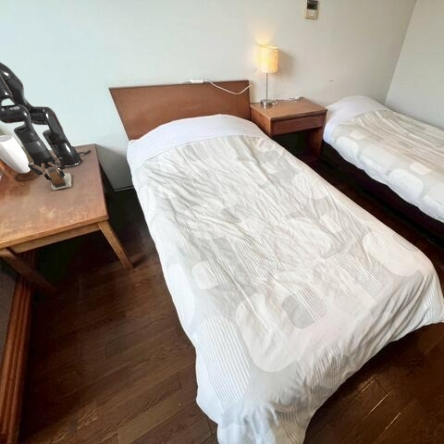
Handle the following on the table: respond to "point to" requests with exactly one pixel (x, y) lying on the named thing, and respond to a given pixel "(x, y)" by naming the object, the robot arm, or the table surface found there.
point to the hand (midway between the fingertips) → (56, 178)
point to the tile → (67, 180)
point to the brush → (56, 178)
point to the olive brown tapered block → (27, 154)
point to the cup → (13, 154)
